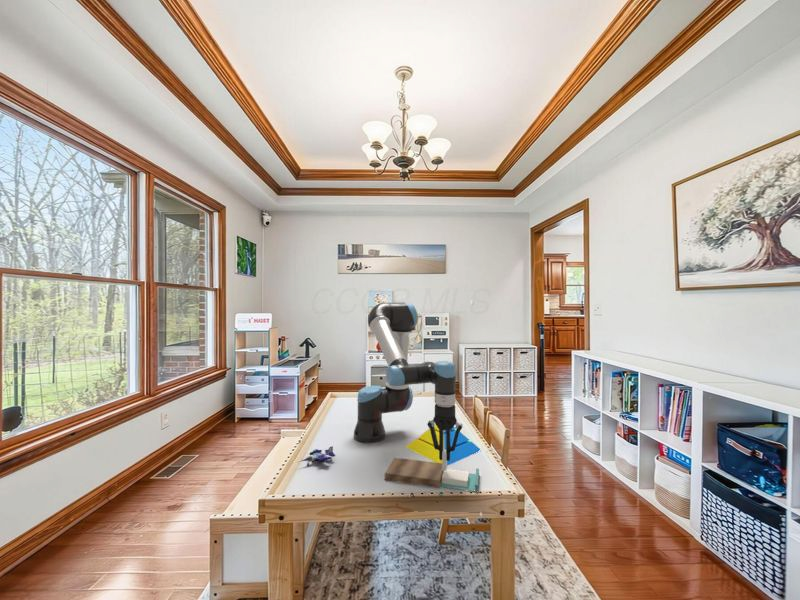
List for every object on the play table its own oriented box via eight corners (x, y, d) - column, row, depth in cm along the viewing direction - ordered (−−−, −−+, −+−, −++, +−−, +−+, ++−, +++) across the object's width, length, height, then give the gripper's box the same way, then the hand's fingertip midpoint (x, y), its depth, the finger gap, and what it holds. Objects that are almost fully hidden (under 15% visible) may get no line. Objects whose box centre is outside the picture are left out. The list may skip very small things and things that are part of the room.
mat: (439, 487, 121) (439, 479, 121) (444, 470, 132) (444, 464, 132) (477, 492, 117) (477, 485, 117) (478, 475, 129) (479, 468, 129)
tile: (441, 483, 123) (441, 477, 123) (444, 473, 129) (444, 468, 129) (467, 487, 120) (467, 481, 120) (469, 477, 127) (469, 471, 127)
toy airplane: (294, 469, 132) (294, 460, 132) (310, 454, 146) (310, 445, 146) (325, 473, 130) (326, 463, 130) (339, 457, 144) (339, 448, 144)
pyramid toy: (444, 469, 135) (445, 433, 135) (403, 448, 154) (403, 416, 154) (484, 452, 151) (484, 419, 151) (442, 434, 170) (442, 405, 170)
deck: (384, 479, 125) (384, 473, 125) (394, 463, 138) (394, 457, 138) (439, 487, 120) (439, 480, 120) (444, 470, 133) (444, 463, 133)
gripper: (425, 405, 124) (425, 471, 124) (462, 408, 121) (461, 476, 121) (429, 400, 132) (428, 461, 131) (463, 402, 128) (463, 466, 128)
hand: (444, 468), depth 126 cm, fingers closed
